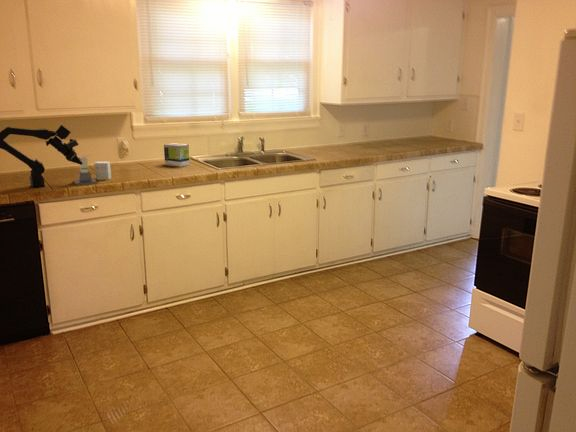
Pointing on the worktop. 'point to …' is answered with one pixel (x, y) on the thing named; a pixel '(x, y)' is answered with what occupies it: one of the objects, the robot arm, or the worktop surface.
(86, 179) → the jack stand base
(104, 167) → the small box
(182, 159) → the tea box
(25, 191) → the worktop surface
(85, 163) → the white tall block
